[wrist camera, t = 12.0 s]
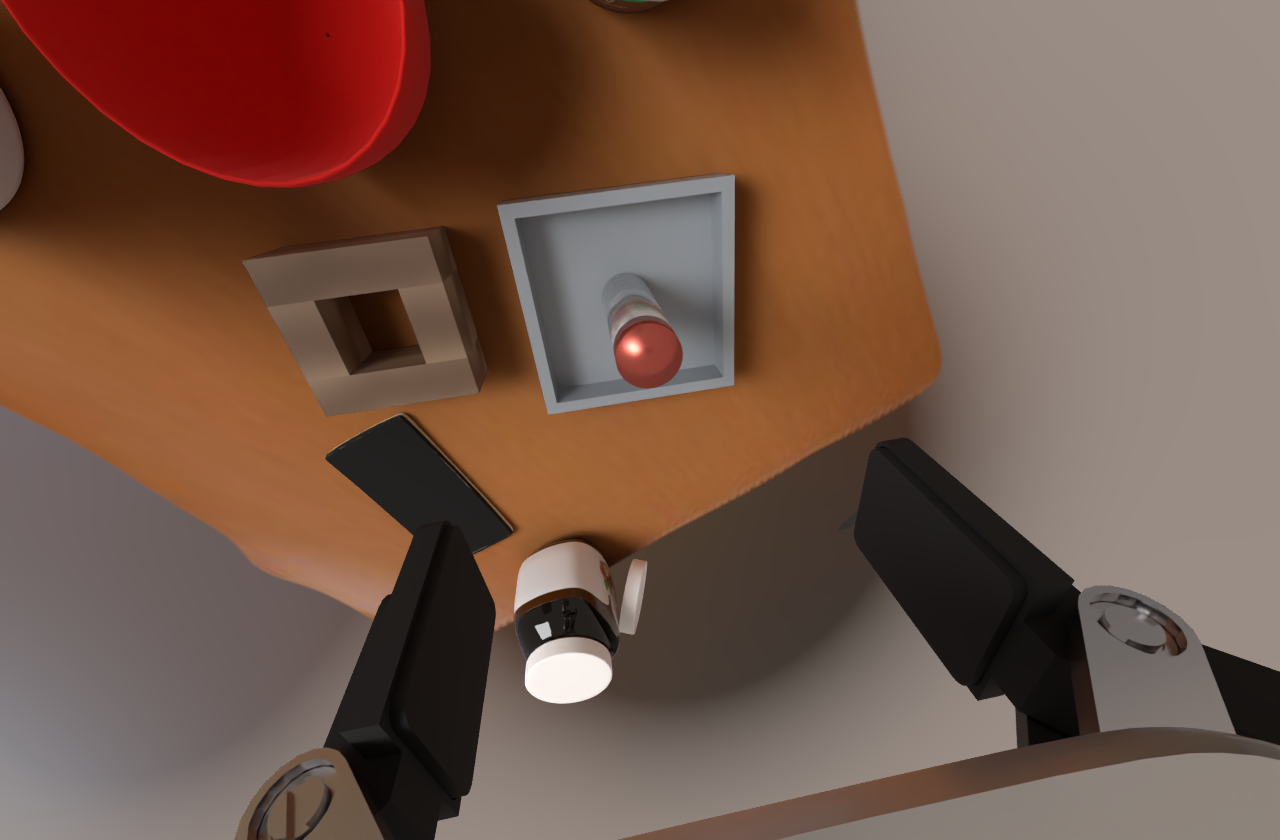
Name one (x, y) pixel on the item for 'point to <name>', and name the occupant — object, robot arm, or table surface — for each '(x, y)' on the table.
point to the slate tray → (625, 243)
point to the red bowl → (246, 78)
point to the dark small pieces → (417, 481)
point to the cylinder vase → (9, 153)
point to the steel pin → (640, 333)
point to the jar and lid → (572, 619)
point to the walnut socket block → (332, 334)
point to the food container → (627, 5)
